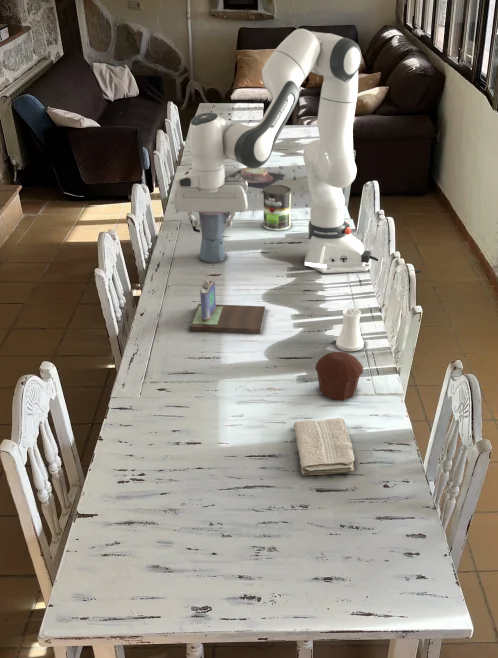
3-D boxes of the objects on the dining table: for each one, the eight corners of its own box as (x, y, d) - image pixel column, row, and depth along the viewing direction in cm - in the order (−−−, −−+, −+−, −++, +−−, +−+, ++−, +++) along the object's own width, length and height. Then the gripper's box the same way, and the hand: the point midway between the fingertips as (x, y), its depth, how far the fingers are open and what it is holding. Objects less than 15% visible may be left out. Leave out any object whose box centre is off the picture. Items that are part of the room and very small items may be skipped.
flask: (209, 321, 207) (206, 287, 201) (199, 320, 207) (196, 286, 201) (217, 307, 214) (215, 273, 208) (207, 306, 215) (205, 272, 209)
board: (265, 310, 216) (265, 305, 215) (260, 333, 204) (260, 328, 203) (198, 308, 217) (198, 303, 216) (190, 331, 205) (189, 326, 204)
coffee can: (284, 232, 269) (284, 195, 261) (259, 228, 272) (258, 191, 264) (294, 223, 277) (295, 186, 269) (270, 219, 280) (269, 183, 272)
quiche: (221, 181, 318) (221, 172, 316) (243, 169, 333) (243, 160, 331) (264, 188, 311) (264, 179, 308) (284, 175, 326) (284, 166, 324)
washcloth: (301, 478, 152) (301, 467, 151) (291, 427, 167) (291, 416, 166) (357, 474, 154) (358, 463, 152) (342, 424, 169) (343, 413, 167)
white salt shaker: (348, 334, 204) (350, 303, 199) (369, 344, 200) (371, 312, 194) (330, 344, 200) (331, 311, 194) (350, 354, 195) (352, 321, 190)
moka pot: (229, 265, 243) (226, 208, 232) (185, 261, 245) (180, 204, 235) (236, 254, 251) (234, 198, 240) (194, 250, 253) (190, 194, 243)
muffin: (308, 397, 178) (309, 362, 172) (322, 374, 187) (323, 340, 181) (354, 407, 175) (357, 372, 169) (367, 383, 183) (369, 349, 178)
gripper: (248, 173, 198) (250, 222, 206) (174, 173, 199) (179, 221, 207) (245, 181, 193) (248, 230, 200) (169, 180, 194) (174, 229, 201)
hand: (212, 225), depth 204 cm, fingers open, 8 cm apart
